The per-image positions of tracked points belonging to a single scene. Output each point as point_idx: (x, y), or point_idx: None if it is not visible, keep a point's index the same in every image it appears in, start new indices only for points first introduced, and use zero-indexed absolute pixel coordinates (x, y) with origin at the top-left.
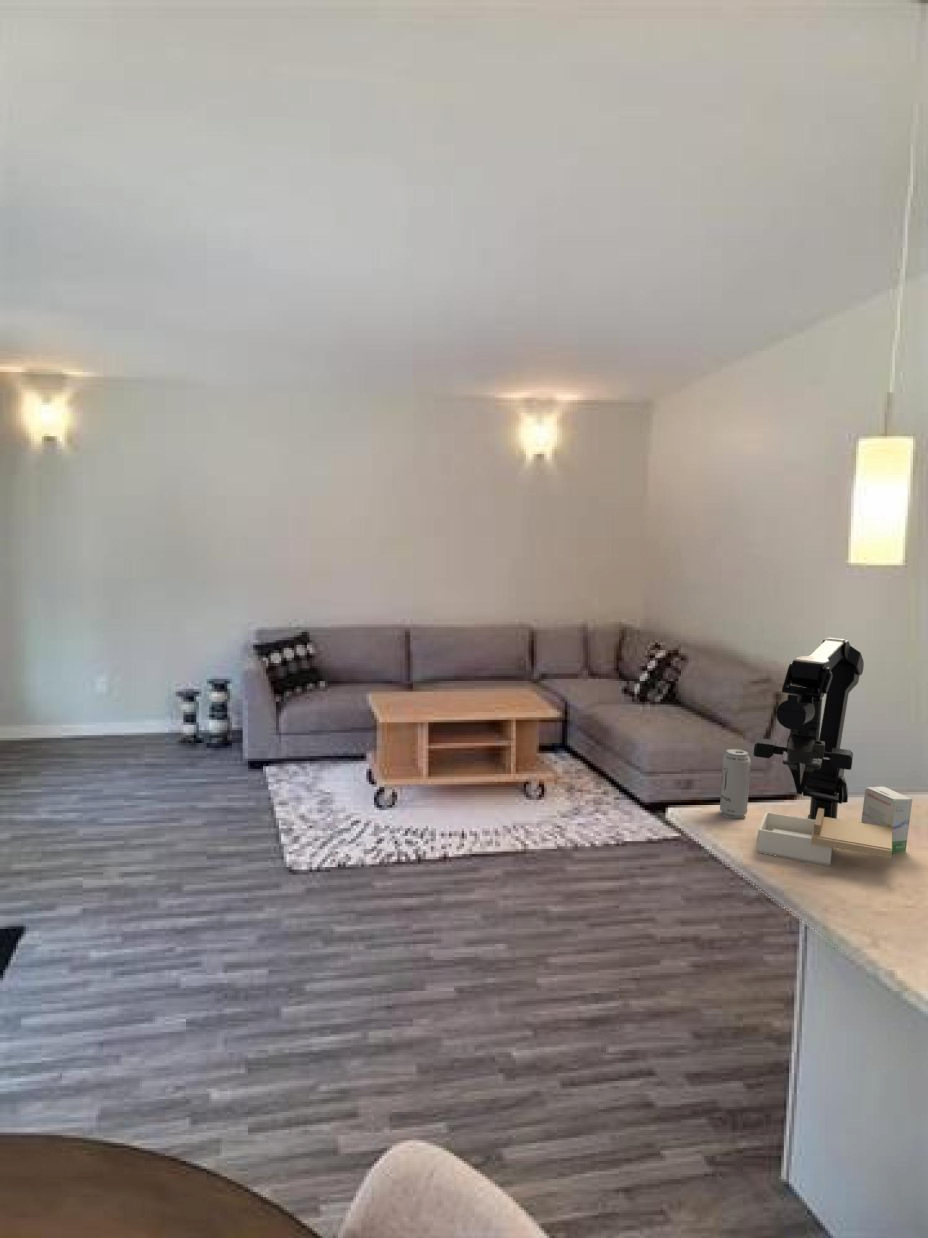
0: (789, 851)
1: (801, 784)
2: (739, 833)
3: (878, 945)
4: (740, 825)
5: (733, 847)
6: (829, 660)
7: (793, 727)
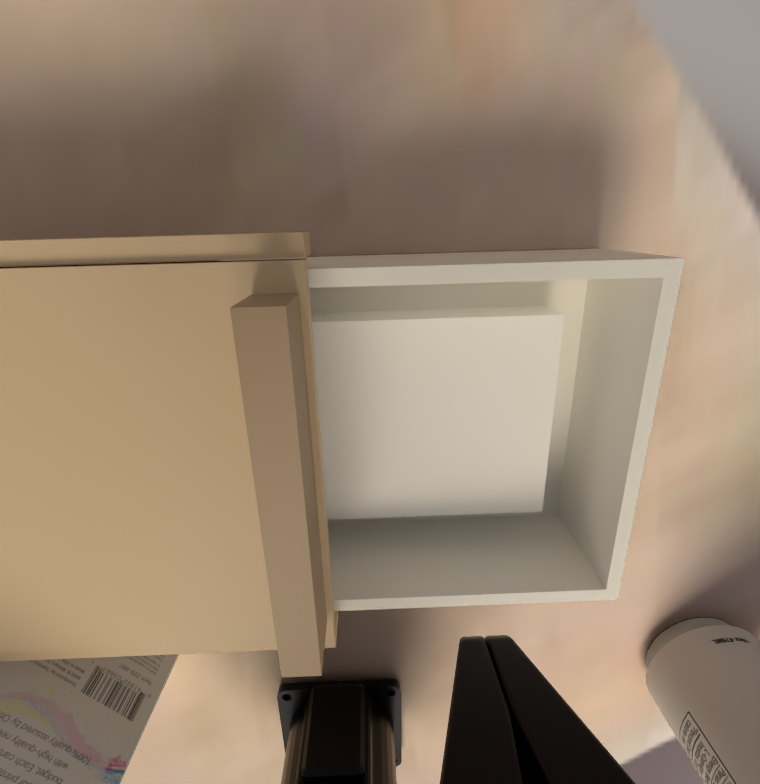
0: (438, 256)
1: (509, 770)
2: (675, 468)
3: None
4: (665, 560)
5: (718, 265)
6: None
7: None
